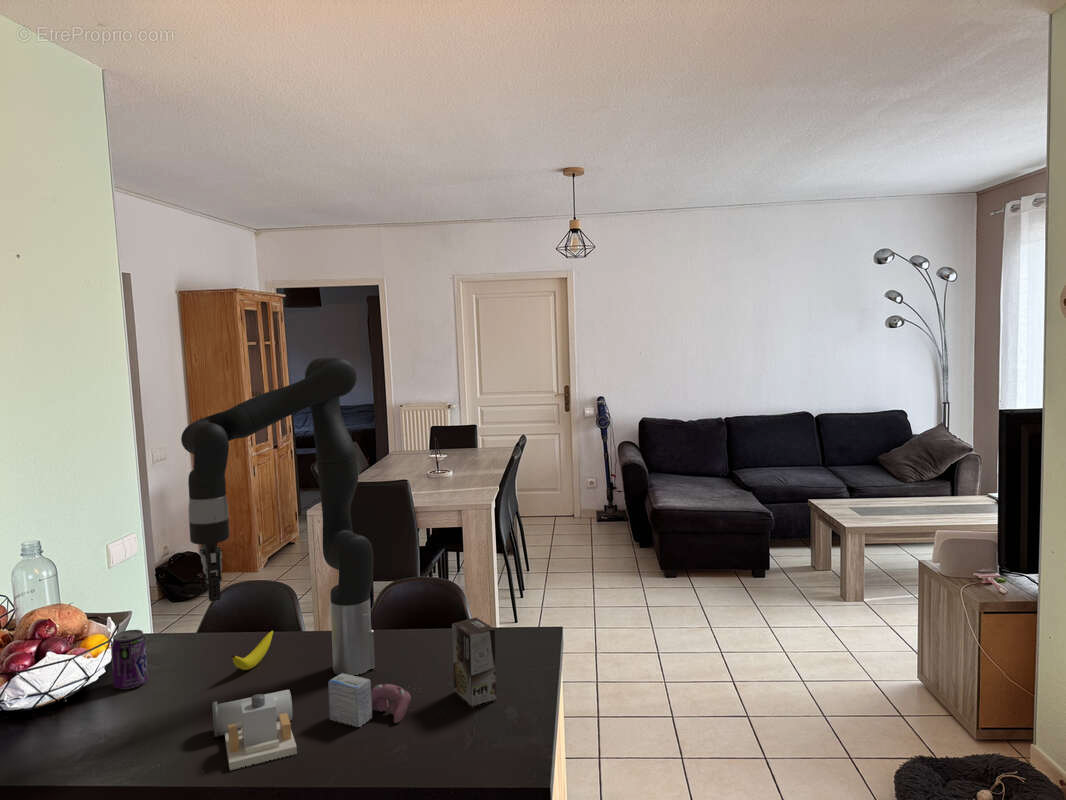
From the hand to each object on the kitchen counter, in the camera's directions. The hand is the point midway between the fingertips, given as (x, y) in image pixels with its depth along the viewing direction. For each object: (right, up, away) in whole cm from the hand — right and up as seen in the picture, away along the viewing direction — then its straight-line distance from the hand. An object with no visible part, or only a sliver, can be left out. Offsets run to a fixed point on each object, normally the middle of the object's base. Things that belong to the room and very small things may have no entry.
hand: (213, 594), depth 156 cm
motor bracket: (+12, -27, -8) cm, 30 cm away
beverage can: (-27, -26, +18) cm, 41 cm away
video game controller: (+36, -26, +2) cm, 45 cm away
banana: (-2, -25, +28) cm, 37 cm away
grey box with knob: (+14, -26, -10) cm, 31 cm away
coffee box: (+54, -25, +9) cm, 60 cm away
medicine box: (+29, -27, 0) cm, 39 cm away
